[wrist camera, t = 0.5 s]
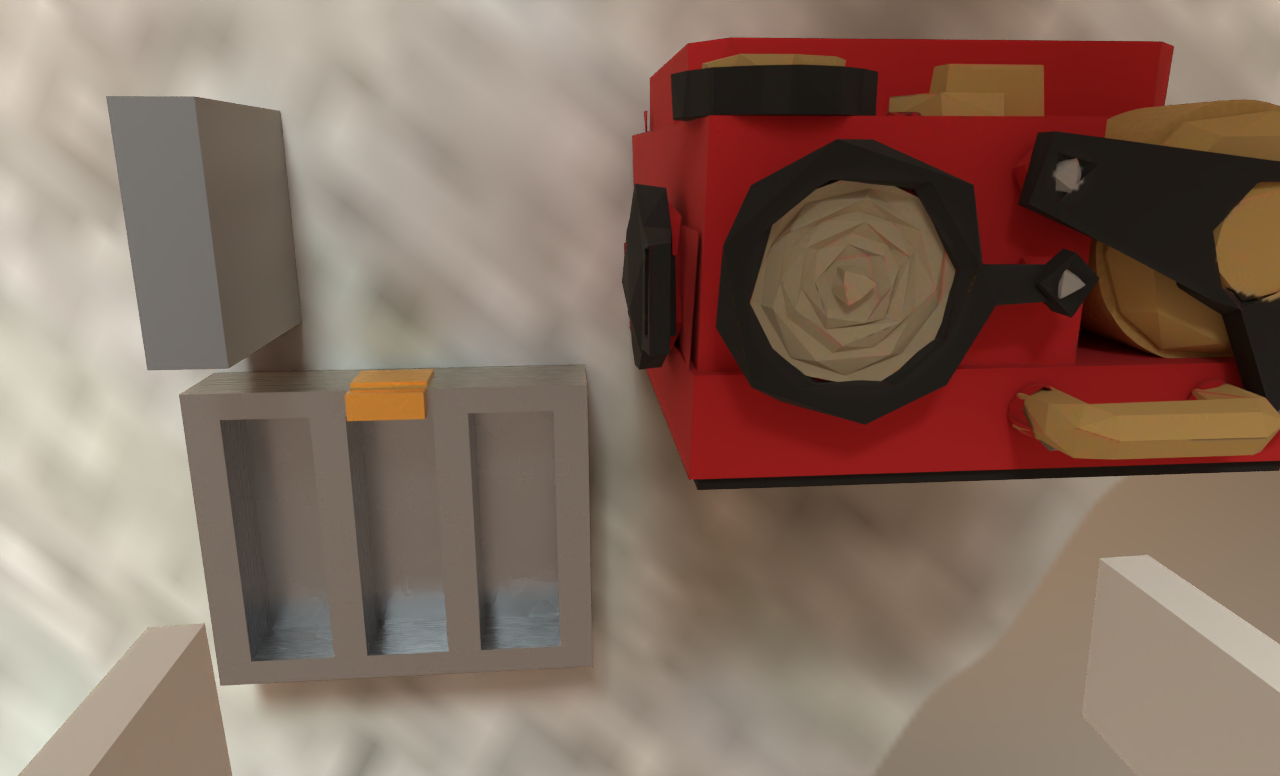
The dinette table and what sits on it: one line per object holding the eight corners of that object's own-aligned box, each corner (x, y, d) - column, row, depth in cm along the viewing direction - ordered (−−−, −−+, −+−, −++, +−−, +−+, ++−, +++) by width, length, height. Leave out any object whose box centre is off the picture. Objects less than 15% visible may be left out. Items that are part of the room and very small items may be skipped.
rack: (213, 368, 35) (171, 393, 31) (584, 359, 36) (587, 383, 32) (248, 641, 38) (214, 694, 34) (589, 624, 39) (593, 674, 35)
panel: (214, 111, 32) (106, 96, 25) (280, 111, 33) (194, 96, 25) (239, 323, 35) (147, 370, 27) (302, 321, 35) (228, 368, 27)
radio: (994, 84, 35) (1536, -7, 15) (970, 334, 37) (1407, 523, 18) (598, 82, 33) (649, -21, 14) (601, 342, 36) (649, 554, 17)
